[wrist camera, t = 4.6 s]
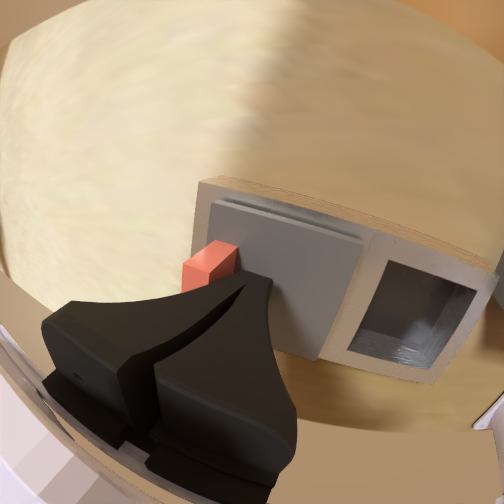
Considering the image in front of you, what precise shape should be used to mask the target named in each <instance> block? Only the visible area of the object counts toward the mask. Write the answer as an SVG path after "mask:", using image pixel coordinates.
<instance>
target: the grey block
mask: <svg viewBox="0 0 504 504" xmlns="http://www.w3.org/2000/svg"><path fill="white" fill-rule="evenodd" d="M495 272H496V273H497V274H498V275H499V276H500V279H499V281H498V283H497V285H496V287H495V289H494V291H493V293H492V296H493V297H494V298H495V300H496V301H497V302H498V304H499V305H500V306H501V308H502V309H503V311H504V251H503V253H502V256H501V258H500V261H499V263H498V265H497V268H496V270H495Z"/></svg>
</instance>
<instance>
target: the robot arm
mask: <svg viewBox="0 0 504 504" xmlns="http://www.w3.org/2000/svg"><path fill="white" fill-rule="evenodd" d="M273 284H274V282H273V280H272V279H271V278H268V277H265V276H262V275H259V274H256V273H253V272H250V271H246V270H241V271H239V272H236V273H234V274H232V275H229V276H227V277H225V278H222V279H220V280H217V281H215V282H213V283H210V284H208V285H205V286H202V287H199V288H196V289H193V290H190V291H187V292H184V293H180V294H176V295H172V296H168V297H163V298H158V299H150V300H143V301H136V302H121V303H97V302H82V301H70V302H69V303H67V304H66V305H64V306H63V307H62V308H60V309H59V310H57V311H56V312H54V313H53V314H51V315H50V316H49V317H47V318H46V319H44V320H43V321H42V326H41V330H42V336H43V339H44V342H45V344H46V347H47V349H48V351H49V353H50V356H51V358H52V360H53V363H54V365H55V367H56V369H55V370H54V371H53V372H52V373H51V374H50V375H49V376H46V375H45V374H44V373H43V372H42V371H41V370H40V369H39V368H38V367H37V366H36V365H35V364H34V362H33V361H32V360H31V359H30V358H29V357H28V356H27V355H26V354H25V352H24V351H23V350H22V349H21V348H20V347H19V345H18V344H17V343H16V342H15V341H14V339H13V338H12V337H11V336H10V335H9V333H8V332H7V331H6V329H5V328H4V327H3V325H2V324H1V323H0V504H164V503H162V502H160V501H158V500H156V499H155V498H153V497H151V496H149V495H148V494H146V493H144V492H143V491H141V490H139V489H138V488H136V487H134V486H133V485H131V484H130V483H128V482H127V481H125V480H124V479H123V478H121V477H120V476H118V475H117V474H115V473H114V472H113V471H111V470H110V469H108V468H107V467H106V466H104V465H103V464H101V463H100V462H99V461H97V460H96V459H95V458H94V457H93V456H91V455H90V454H89V453H87V452H86V451H85V450H84V449H83V448H82V447H80V446H79V445H78V444H77V443H76V442H75V440H74V439H73V438H72V437H71V436H70V434H69V433H68V432H67V431H66V430H65V429H64V428H63V426H62V425H61V424H60V422H59V421H58V420H57V418H56V417H55V415H54V413H53V412H52V411H51V410H50V408H49V407H48V406H47V405H46V404H45V403H44V401H45V402H46V403H47V404H48V405H49V406H50V407H51V408H52V409H53V410H54V411H55V412H56V413H57V414H58V415H60V417H62V418H63V419H64V420H65V421H66V422H67V423H68V424H69V425H70V426H72V427H73V428H74V429H75V430H76V431H77V432H79V433H80V434H81V435H82V436H83V437H85V438H86V439H87V440H88V441H90V442H91V443H92V444H93V445H95V446H96V447H97V448H99V449H100V450H101V451H103V452H104V453H106V454H107V455H108V456H110V457H111V458H113V459H114V460H115V461H117V462H118V463H120V464H121V465H123V466H124V467H126V468H128V469H129V470H131V471H132V472H134V473H136V474H137V475H139V476H141V477H142V478H144V479H146V480H148V481H149V482H151V483H153V484H155V485H157V486H158V487H160V488H162V489H164V490H166V491H168V492H170V493H172V494H174V495H176V496H178V497H180V498H183V499H185V500H187V501H189V502H191V503H194V504H269V503H266V502H267V500H268V497H269V494H270V492H271V489H272V488H273V487H274V486H275V484H276V481H277V478H278V476H279V473H280V472H281V471H282V470H283V469H284V468H285V467H286V466H287V465H288V464H289V463H290V462H291V461H292V459H293V457H294V455H295V450H296V443H297V415H296V408H295V406H294V404H293V402H292V400H291V398H290V396H289V394H288V392H287V390H286V388H285V385H284V383H283V380H282V378H281V375H280V372H279V369H278V366H277V363H276V359H275V356H274V353H273V348H272V344H271V338H270V332H269V322H268V303H269V299H270V295H271V291H272V287H273ZM43 400H44V401H43ZM473 428H474V429H493V434H494V438H495V443H496V449H497V454H498V461H499V468H500V477H501V488H502V496H500V497H499V498H497V499H496V500H495V502H496V503H495V504H504V394H503V395H502V396H501V397H500V398H499V399H498V400H497V401H496V402H495V403H494V405H493V406H492V407H491V408H490V409H489V410H488V411H487V412H486V413H485V414H484V415H483V416H482V417H481V418H480V419H479V420H478V421H477V422H476V423H475V424H474V425H473Z"/></svg>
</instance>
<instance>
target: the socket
mask: <svg viewBox="0 0 504 504" xmlns="http://www.w3.org/2000/svg"><path fill="white" fill-rule="evenodd" d="M215 200H222V201H226V202H230V203H234V204H238V205H242V206H245V207H249V208H253V209H257V210H260V211H264V212H268V213H271V214H275V215H279V216H282V217H286V218H289V219H293V220H296V221H300V222H303V223H307V224H310V225H314V226H317V227H320V228H324V229H327V230H330V231H334V232H337V233H340V234H343V235H347V236H350V237H353V238H356V239H359V240H363V245H364V246H363V249H362V252H361V255H360V257H359V260H358V263H357V266H356V268H355V271H354V274H353V276H352V279H351V282H350V284H349V287H348V289H347V292H346V294H345V297H344V299H343V302H342V304H341V306H340V309H339V311H338V314H337V316H336V318H335V320H334V323H333V325H332V327H331V330H330V332H329V334H328V336H327V338H326V340H325V343H324V345H323V347H322V349H321V351H320V353H319V355H318V358H321V359H325V360H328V361H332V362H335V363H339V364H342V365H346V366H350V367H353V368H357V369H361V370H365V371H369V372H373V373H378V374H382V375H386V376H390V377H395V378H400V379H404V380H409V381H414V382H419V383H425V384H430V385H432V384H433V383H434V382H435V381H436V380H437V378H438V377H439V376H440V375H441V373H442V372H443V371H444V369H445V368H446V367H447V365H448V364H449V363H450V361H451V360H452V359H453V357H454V356H455V354H456V353H457V352H458V350H459V349H460V347H461V346H462V344H463V343H464V341H465V340H466V338H467V337H468V335H469V334H470V332H471V330H472V329H473V327H474V325H475V324H476V322H477V320H478V319H479V317H480V315H481V314H482V312H483V310H484V308H485V306H486V304H487V303H488V301H489V299H490V297H491V295H492V293H493V291H494V289H495V287H496V285H497V283H498V281H499V279H500V276H499V275H498V274H497V273H496V272H495V271H494V270H493V269H492V268H491V267H490V266H489V265H488V264H487V263H486V262H485V261H484V260H483V259H482V258H481V257H479V256H477V255H474V254H472V253H470V252H467V251H465V250H463V249H460V248H458V247H455V246H453V245H450V244H448V243H445V242H443V241H440V240H438V239H435V238H433V237H430V236H427V235H425V234H422V233H420V232H417V231H414V230H411V229H409V228H406V227H403V226H400V225H397V224H394V223H392V222H389V221H386V220H383V219H380V218H377V217H374V216H371V215H368V214H365V213H361V212H358V211H355V210H352V209H349V208H345V207H342V206H339V205H335V204H332V203H329V202H325V201H322V200H318V199H315V198H311V197H308V196H304V195H300V194H297V193H293V192H289V191H285V190H281V189H277V188H273V187H269V186H265V185H261V184H257V183H253V182H249V181H244V180H240V179H235V178H231V177H226V176H218V177H214V178H210V179H206V180H202V181H199V184H198V192H197V200H196V208H195V218H194V227H193V237H192V248H191V257H193V256H194V255H195V254H197V253H198V252H199V251H201V250H202V249H203V248H205V247H206V240H207V231H208V223H209V215H210V208H211V202H213V201H215Z"/></svg>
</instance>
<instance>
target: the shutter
mask: <svg viewBox="0 0 504 504" xmlns="http://www.w3.org/2000/svg"><path fill="white" fill-rule="evenodd" d="M363 246H364V245H363V240H359V239H356V238H353V237H350V236H347V235H343V234H340V233H337V232H334V231H330V230H327V229H324V228H320V227H317V226H314V225H310V224H307V223H303V222H300V221H296V220H293V219H289V218H286V217H282V216H279V215H275V214H271V213H268V212H264V211H260V210H257V209H253V208H249V207H245V206H242V205H238V204H234V203H230V202H226V201H222V200H215V201H213V202H211V208H210V215H209V223H208V231H207V240H206V247H205V248H203V249H202V250H201V251H199V252H198V253H197V254H195V255H194V256H193V257H191V258H190V259H188V260H187V261H186V262H184V263H183V272H182V291H181V293H184V292H187V291H190V290H193V289H196V288H199V287H202V286H205V285H208V284H210V283H213V282H215V281H217V280H220V279H222V278H225V277H227V276H229V275H232V274H234V273H236V272H239V271H241V270H246V271H250V272H253V273H256V274H259V275H262V276H265V277H268V278H271V279H272V280H273V282H274V284H273V287H272V291H271V295H270V299H269V303H268V322H269V332H270V338H271V344H272V348H273V349H276V350H279V351H282V352H285V353H288V354H291V355H294V356H297V357H300V358H304V359H307V360H310V361H314V362H315V361H316V359H317V357H318V355H319V353H320V351H321V349H322V347H323V345H324V343H325V340H326V338H327V336H328V334H329V332H330V330H331V327H332V325H333V323H334V320H335V318H336V316H337V314H338V311H339V309H340V306H341V304H342V302H343V299H344V297H345V294H346V292H347V289H348V287H349V284H350V282H351V279H352V276H353V274H354V271H355V268H356V266H357V263H358V260H359V257H360V255H361V252H362V249H363Z"/></svg>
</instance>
